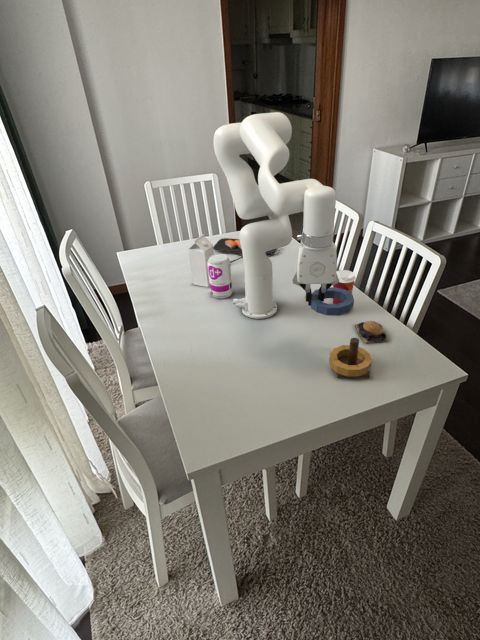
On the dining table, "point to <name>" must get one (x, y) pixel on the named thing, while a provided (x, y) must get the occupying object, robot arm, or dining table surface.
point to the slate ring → (333, 308)
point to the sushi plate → (232, 246)
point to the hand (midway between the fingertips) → (314, 303)
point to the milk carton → (200, 260)
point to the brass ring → (350, 369)
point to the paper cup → (344, 282)
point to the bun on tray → (371, 332)
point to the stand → (352, 359)
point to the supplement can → (220, 276)
